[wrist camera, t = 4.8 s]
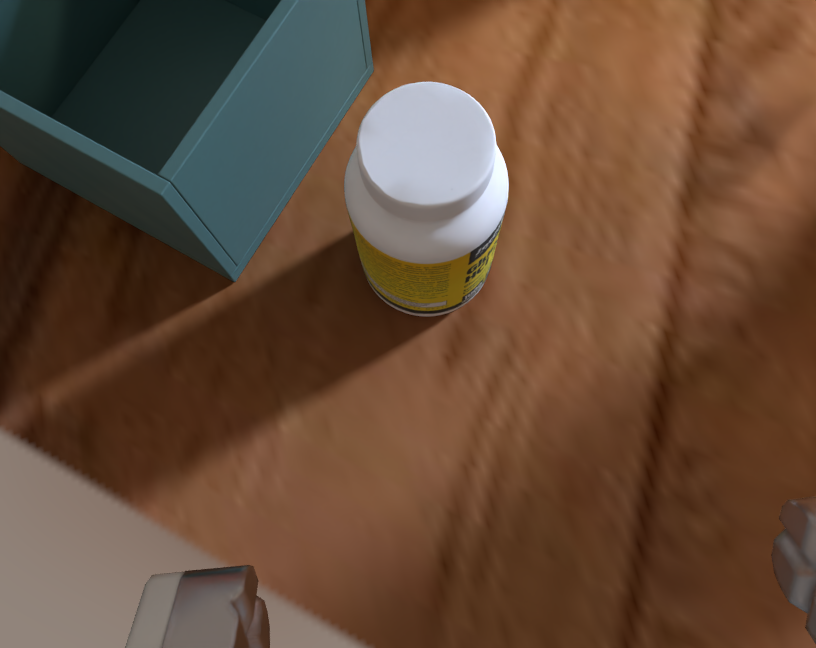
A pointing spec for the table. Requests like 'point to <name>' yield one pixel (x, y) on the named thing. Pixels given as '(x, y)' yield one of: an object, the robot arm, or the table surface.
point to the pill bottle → (426, 197)
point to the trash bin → (180, 107)
